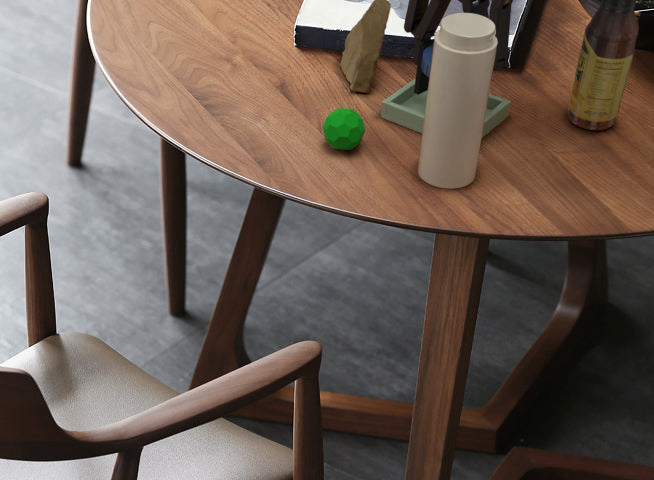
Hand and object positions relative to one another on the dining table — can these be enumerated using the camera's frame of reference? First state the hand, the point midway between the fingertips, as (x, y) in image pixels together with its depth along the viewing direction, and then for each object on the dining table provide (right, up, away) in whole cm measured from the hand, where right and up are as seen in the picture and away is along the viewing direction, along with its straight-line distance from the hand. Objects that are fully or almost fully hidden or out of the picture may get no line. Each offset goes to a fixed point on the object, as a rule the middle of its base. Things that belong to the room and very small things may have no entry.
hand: (445, 101), depth 136 cm
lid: (0, +4, -4) cm, 6 cm away
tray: (0, -2, +1) cm, 2 cm away
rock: (-11, +6, +9) cm, 15 cm away
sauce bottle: (+19, -2, +2) cm, 19 cm away
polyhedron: (-13, -7, -4) cm, 15 cm away
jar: (-1, -10, -8) cm, 13 cm away
